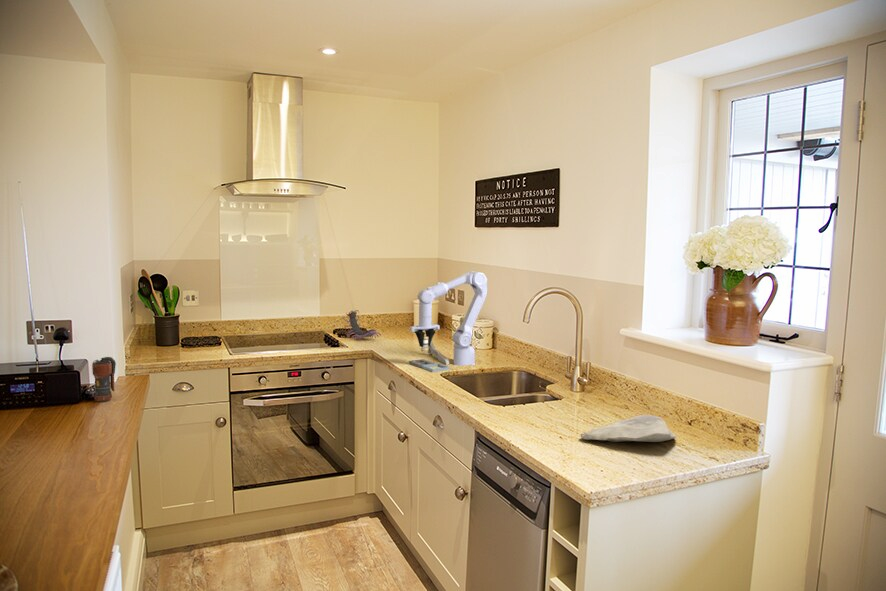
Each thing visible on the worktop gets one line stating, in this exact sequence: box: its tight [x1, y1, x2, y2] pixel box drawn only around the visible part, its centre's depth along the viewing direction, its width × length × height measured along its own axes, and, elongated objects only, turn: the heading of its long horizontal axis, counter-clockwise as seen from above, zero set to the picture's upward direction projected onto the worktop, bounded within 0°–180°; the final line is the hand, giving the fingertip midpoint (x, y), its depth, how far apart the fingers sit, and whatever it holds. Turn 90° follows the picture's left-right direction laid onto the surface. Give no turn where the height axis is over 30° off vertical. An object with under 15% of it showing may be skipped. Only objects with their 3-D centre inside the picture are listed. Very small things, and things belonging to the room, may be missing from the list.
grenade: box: [91, 356, 117, 403], centre depth 213 cm, size 6×8×15 cm
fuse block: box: [408, 358, 436, 369], centre depth 277 cm, size 8×10×2 cm
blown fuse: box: [420, 335, 428, 353], centre depth 274 cm, size 3×3×6 cm
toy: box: [342, 310, 382, 341], centre depth 342 cm, size 12×26×15 cm, turn 39°
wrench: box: [426, 339, 450, 366], centre depth 291 cm, size 8×2×30 cm
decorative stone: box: [579, 414, 677, 443], centre depth 186 cm, size 28×7×30 cm
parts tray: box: [421, 362, 451, 373], centre depth 269 cm, size 9×9×2 cm
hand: (424, 346), depth 274 cm, fingers closed on blown fuse, 3 cm apart
